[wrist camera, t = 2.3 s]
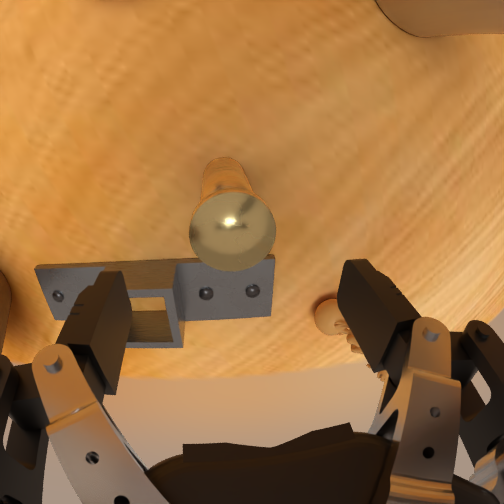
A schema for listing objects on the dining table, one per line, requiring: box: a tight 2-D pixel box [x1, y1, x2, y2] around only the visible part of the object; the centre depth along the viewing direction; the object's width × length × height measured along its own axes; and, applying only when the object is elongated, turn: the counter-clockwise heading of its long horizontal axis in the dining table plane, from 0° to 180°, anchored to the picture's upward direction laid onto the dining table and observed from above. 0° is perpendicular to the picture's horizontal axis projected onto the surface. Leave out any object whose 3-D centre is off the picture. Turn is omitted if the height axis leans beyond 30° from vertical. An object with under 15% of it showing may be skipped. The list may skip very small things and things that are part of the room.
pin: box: [189, 157, 276, 271], centre depth 19 cm, size 4×4×11 cm
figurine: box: [315, 299, 388, 382], centre depth 26 cm, size 8×6×12 cm
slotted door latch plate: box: [34, 255, 275, 348], centre depth 26 cm, size 25×7×5 cm, turn 89°
